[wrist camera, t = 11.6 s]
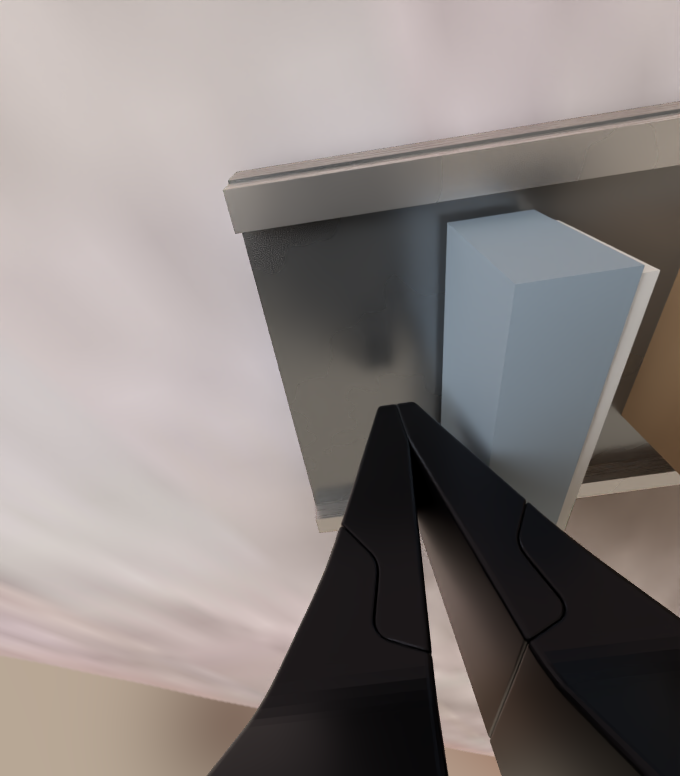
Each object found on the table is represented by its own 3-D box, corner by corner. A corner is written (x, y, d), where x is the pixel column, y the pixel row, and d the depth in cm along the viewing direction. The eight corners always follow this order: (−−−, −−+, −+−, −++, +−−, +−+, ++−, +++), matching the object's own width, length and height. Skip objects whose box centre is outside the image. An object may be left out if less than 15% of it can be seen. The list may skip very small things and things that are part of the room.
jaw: (555, 205, 7) (677, 259, 5) (505, 476, 12) (555, 573, 9) (447, 222, 7) (515, 284, 5) (439, 485, 12) (472, 584, 9)
